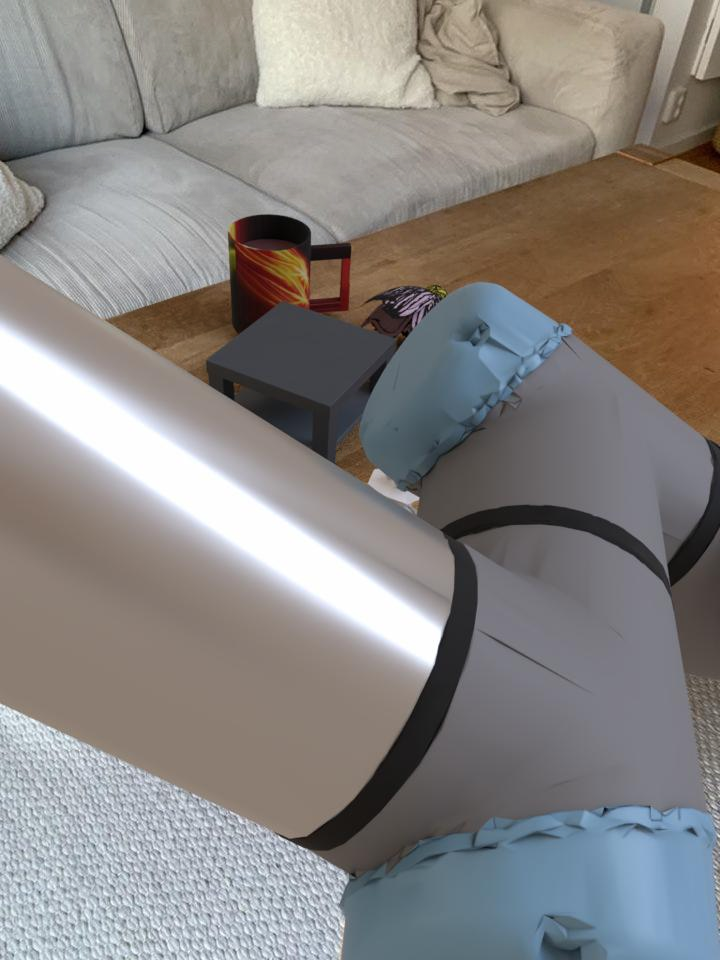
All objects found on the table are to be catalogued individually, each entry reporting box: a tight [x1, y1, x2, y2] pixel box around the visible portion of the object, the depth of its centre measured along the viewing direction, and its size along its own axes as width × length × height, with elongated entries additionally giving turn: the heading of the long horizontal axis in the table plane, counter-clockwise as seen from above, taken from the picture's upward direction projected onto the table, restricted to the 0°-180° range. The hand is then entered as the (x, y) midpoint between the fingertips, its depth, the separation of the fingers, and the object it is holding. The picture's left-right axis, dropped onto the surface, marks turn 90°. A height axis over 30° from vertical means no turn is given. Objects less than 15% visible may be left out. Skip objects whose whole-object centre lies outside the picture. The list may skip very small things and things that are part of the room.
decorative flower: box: [359, 284, 449, 339], centre depth 94 cm, size 14×12×15 cm
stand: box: [205, 301, 398, 465], centre depth 85 cm, size 14×14×9 cm
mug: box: [227, 213, 352, 335], centre depth 100 cm, size 10×14×12 cm
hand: (401, 574), depth 60 cm, fingers open, 13 cm apart
